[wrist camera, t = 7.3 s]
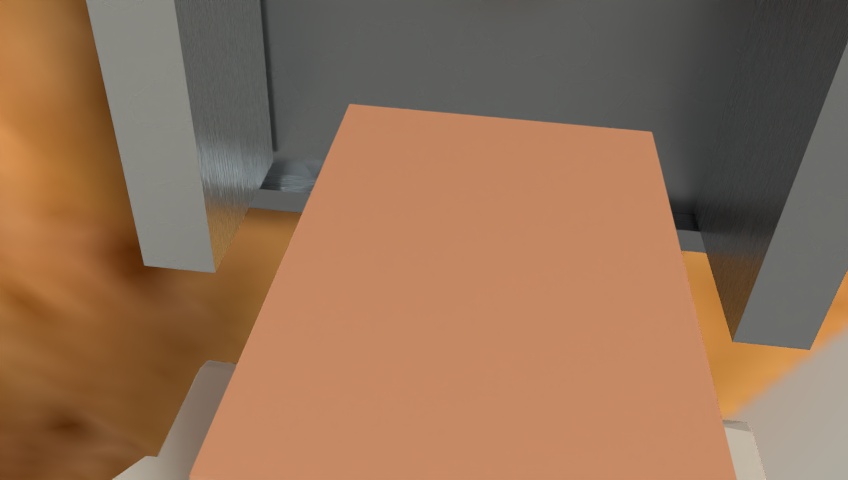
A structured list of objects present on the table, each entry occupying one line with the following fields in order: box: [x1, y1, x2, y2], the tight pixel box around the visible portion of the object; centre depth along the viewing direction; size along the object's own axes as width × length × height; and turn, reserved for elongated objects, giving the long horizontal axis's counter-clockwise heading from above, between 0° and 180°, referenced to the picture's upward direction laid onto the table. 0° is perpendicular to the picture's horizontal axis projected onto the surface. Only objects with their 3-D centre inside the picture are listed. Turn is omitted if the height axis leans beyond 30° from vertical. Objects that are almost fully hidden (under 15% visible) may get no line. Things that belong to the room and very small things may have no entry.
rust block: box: [189, 104, 737, 480], centre depth 10 cm, size 4×7×6 cm, turn 177°
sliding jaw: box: [86, 0, 273, 273], centre depth 20 cm, size 2×11×6 cm, turn 177°
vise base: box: [249, 0, 848, 350], centre depth 21 cm, size 22×14×8 cm, turn 87°
